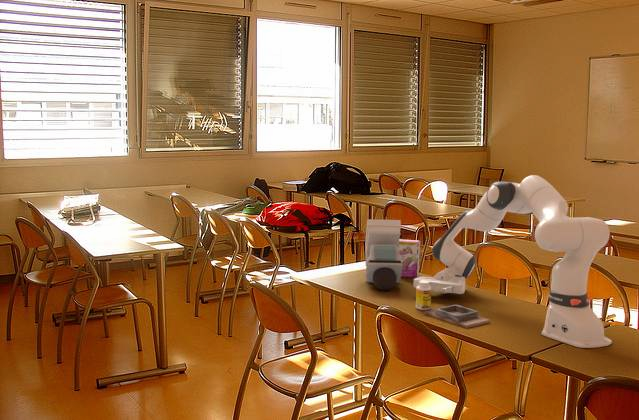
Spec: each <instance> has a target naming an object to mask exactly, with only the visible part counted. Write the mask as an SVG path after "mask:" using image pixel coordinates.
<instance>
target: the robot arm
mask: <svg viewBox="0 0 639 420" xmlns="http://www.w3.org/2000/svg"><path fill="white" fill-rule="evenodd" d="M568 212H569V205H568V202H567V200H566V199H565V198H564V197H563V196H562V195H561V193H560V192H558V190H556V188H555V187H554V186H553V185H552V184H551V183H550V182H548V180H546V179H545V178H543V177H542V176H540V175H537V174H536V175H535V174H530V175H528V176H526V177H524V178H523V179H522V180H521V182H520V183H518V182H510V181H505V180H504V181H495V182H493V183H492V184H490V186H489V187H488V189H487V191H486V192H484V194H483V196H481V198H480V200H479V201H478V203H477V205H476V206H475V207H474V208H473V209H471V210H470V209H469V210H468V209H467V210H465V211H463V212H462V214H460V215H459V216H458V218H457V219H456V220H455V221H454V222H453V223H452V225H450V227H449V228H448V229H447V230H446V232H444V234H443V235H442V236H441V237H440V238H439V239H438V240H437V241H435V243H434V244H433V246H432V248H431V251H432V256H433V258H434V259H436V260H437V261H439V262H440V263H441V262H442V263H443V264H444V265H446V266H447V267H446V268H444V269H443V270H440V271H439V272H437V273H436V274H435V275H434V276H433V277H431V276H418V277H417V278H413V279H412V280H413V282H412V286H413V288H415V289H416V288H417V286H419V281H429V282H430V283H429V284H430V285H429V286H430V287H431V291H435V292H437V293H440V294H458V295H464V293H465V291H466V280H467V279H468V278H469V277H470V276H471V275H472V274H473V272H474V270H475V268H476V265H477V260H476V256H475V255H474V254H472V253H471V252H470V251H468V250H467V249H465V248H463V247H462V246H461V245H459V244H458V243H456V242H455V240H454V239H455V238H456V237H457V236H458V234H459V233H460V232H461V231H462V230H463V229H470V230H475V231H478V232H491V231H493V230H496V229H497V227H499V225H500V224H501V222H502V220H503V219H504V218H505V215H506V214H507V213H512V214H519V215H520V214H521V215H524V214H525V215H534V217H535V218H536V219H537V221H538V224H537V225H536V228H535V231H534V241H535V243H536V244H537V245H538V247H539V248H540V249H541V250H544V251H550V252H557V253H558V252H559V253H560V252H565V254H564V255H563V257H562V258H561V259H560V260H559V261H558V262H556V263H555V264H554V265H553V267H552V269H551V281H550V282H551V283H550V284H551V285H550V289H549V290H548V291H549V293H548V301H549V305H548V308H547V310H546V315H545V316H546V317H545V321H544V326H543V329H542V331H541V335H542V336H544V337H547V338H549V339H552V340H555V341H558V342H561V343H563V344H568V345H570V346H574V347H576V348H584V349H585V348H587V349H588V348H589V349H591V348H592V349H593V348H594V349H595V348H602V347H607V346H610V345H612V343H613V342H612V340H611V339H610V338H608V337H606V336H605V327H604V323H603V321H601V319H600V318H599V317H598V316H597V314H596V313H595V312H594V310H593V309H592V308H591V306H590V305H591V304H590V303H592V302H593V298H589V296H588V293H587V286H588V285H587V284H588V277H589V271H590V267H591V265H592V262H593V260H594V259H595V257H596V256H597V254H598V252H599V251H601V249H603V247H605V246H606V245H607V244H608V242H609V240H610V236H611V234H610V228H609V226H608V224H607V223H606V221H604V220H603V219H601V218H596V217H590V216H582V217H581V216H579V217H572V216H571V217H570V216H567V215H568Z"/></svg>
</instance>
